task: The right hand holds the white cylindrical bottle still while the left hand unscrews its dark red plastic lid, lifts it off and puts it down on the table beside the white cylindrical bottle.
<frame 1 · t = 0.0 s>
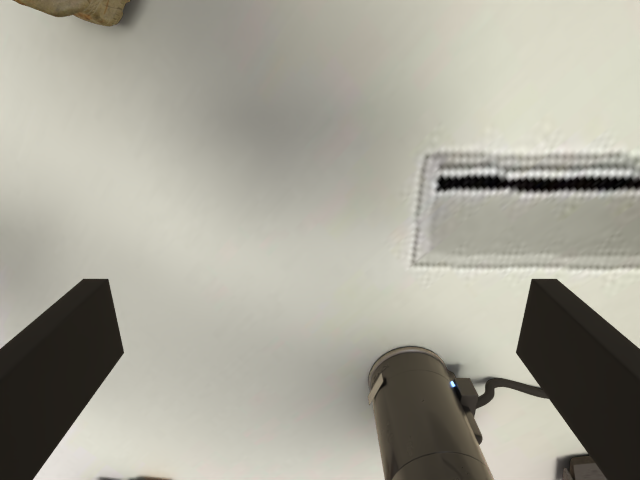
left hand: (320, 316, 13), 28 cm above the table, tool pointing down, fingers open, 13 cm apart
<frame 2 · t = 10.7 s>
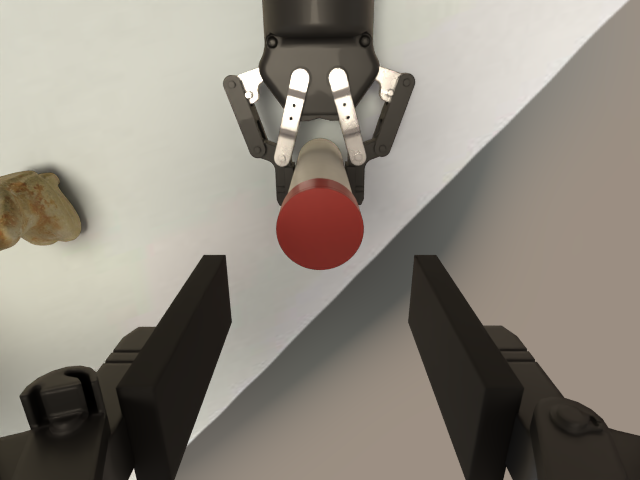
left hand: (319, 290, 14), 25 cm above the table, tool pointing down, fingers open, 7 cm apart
right hand: (320, 208, 33), fingers closed on white cylindrical bottle, 4 cm apart
sculpture: (55, 202, 39), on the table
lid: (319, 228, 21), point 18 cm above the table, screwed on, not yet turned
white cylindrical bottle: (320, 160, 38), on the table, touching right hand
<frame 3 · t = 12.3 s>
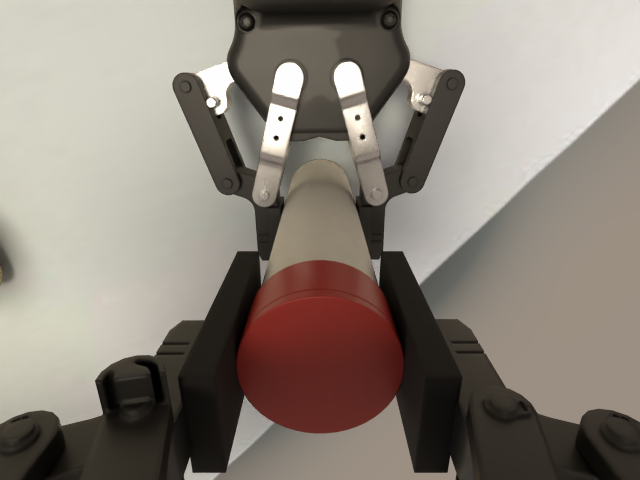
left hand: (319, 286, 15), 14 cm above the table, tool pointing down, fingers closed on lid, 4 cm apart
right hand: (321, 262, 23), fingers closed on white cylindrical bottle, 4 cm apart
lid: (320, 361, 11), point 18 cm above the table, screwed on, not yet turned, touching left hand
white cylindrical bottle: (320, 188, 28), on the table, touching right hand
when the left hand's fingers open (14 cm above the table, at t = 13.5 s): lid stays where it is, point 19 cm above the table.
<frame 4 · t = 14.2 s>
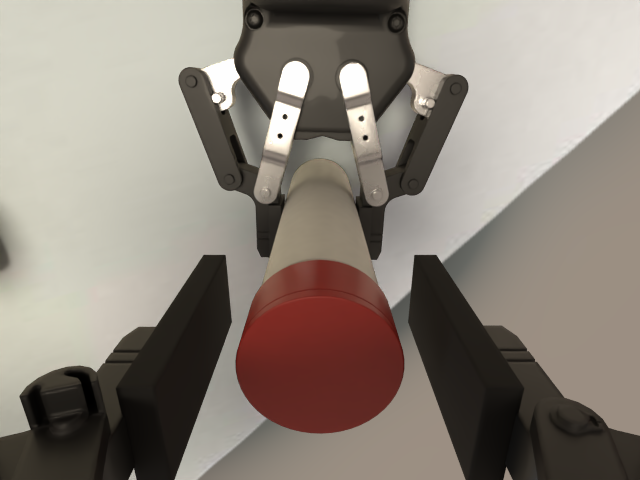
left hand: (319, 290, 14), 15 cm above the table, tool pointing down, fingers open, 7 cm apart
right hand: (319, 261, 23), fingers closed on white cylindrical bottle, 4 cm apart
lid: (319, 361, 11), point 19 cm above the table, turned 58° so far, risen 0.2 cm, still on its thread
white cylindrical bottle: (320, 187, 28), on the table, touching right hand
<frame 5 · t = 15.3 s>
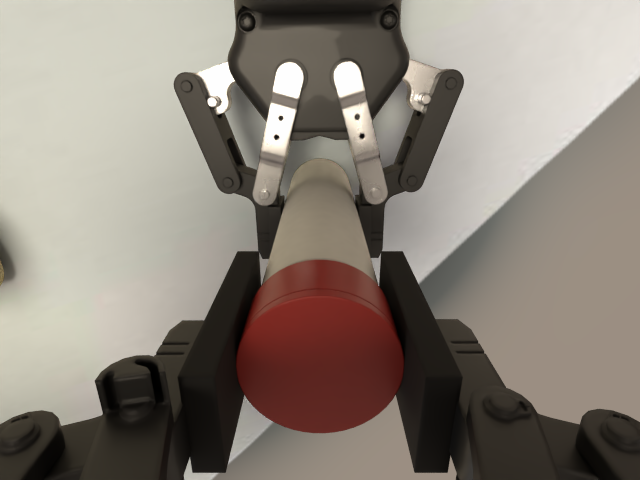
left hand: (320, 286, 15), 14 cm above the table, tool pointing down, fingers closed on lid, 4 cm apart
right hand: (321, 261, 23), fingers closed on white cylindrical bottle, 4 cm apart
lid: (320, 361, 11), point 19 cm above the table, turned 58° so far, risen 0.2 cm, still on its thread, touching left hand
white cylindrical bottle: (320, 187, 28), on the table, touching right hand
when the left hand's fingers open (0 cm above the table, at t = 22.6 s): lid drops 3 cm, point 2 cm above the table.
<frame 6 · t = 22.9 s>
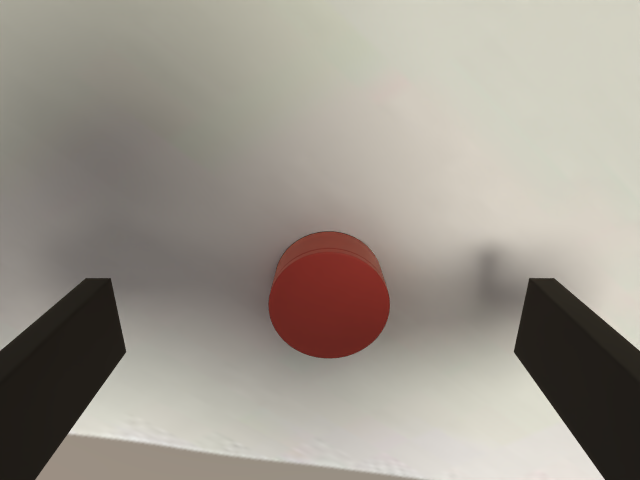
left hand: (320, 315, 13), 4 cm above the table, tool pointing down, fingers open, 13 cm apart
lid: (328, 303, 15), point 2 cm above the table, off its thread
when the right hand's fingers open (6 cm above the table, at t = 23.2 s): white cylindrical bottle stays where it is, on the table.
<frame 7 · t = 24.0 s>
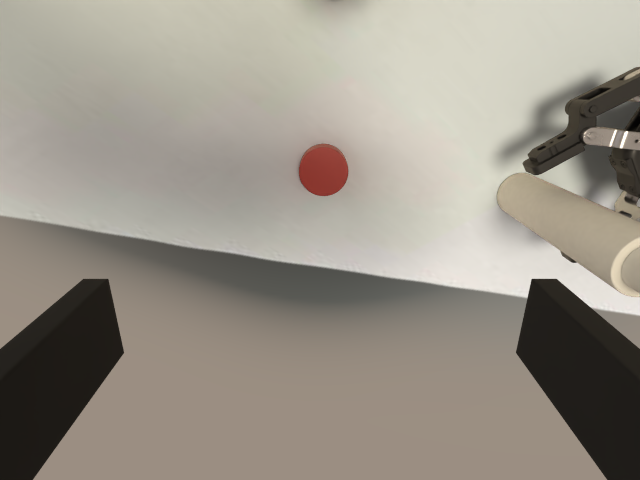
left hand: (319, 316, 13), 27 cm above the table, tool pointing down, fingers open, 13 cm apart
lid: (323, 171, 36), point 2 cm above the table, off its thread
white cylindrical bottle: (518, 193, 39), on the table
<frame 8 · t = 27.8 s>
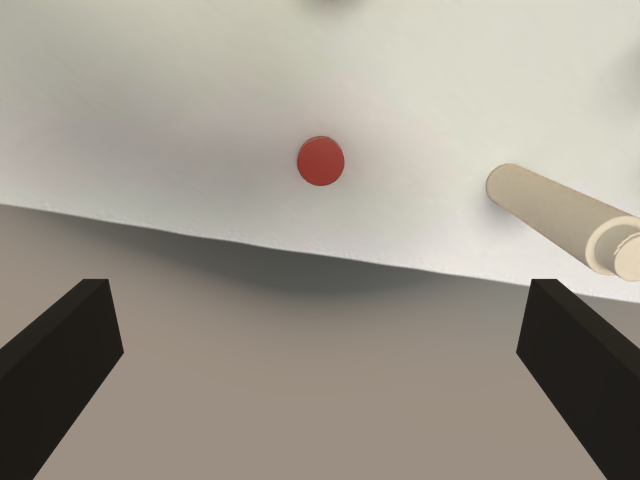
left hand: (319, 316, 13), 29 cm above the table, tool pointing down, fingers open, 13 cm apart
lid: (320, 162, 38), point 2 cm above the table, off its thread
white cylindrical bottle: (506, 183, 41), on the table
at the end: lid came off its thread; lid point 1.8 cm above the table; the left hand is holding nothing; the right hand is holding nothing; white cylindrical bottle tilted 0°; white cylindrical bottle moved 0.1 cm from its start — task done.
